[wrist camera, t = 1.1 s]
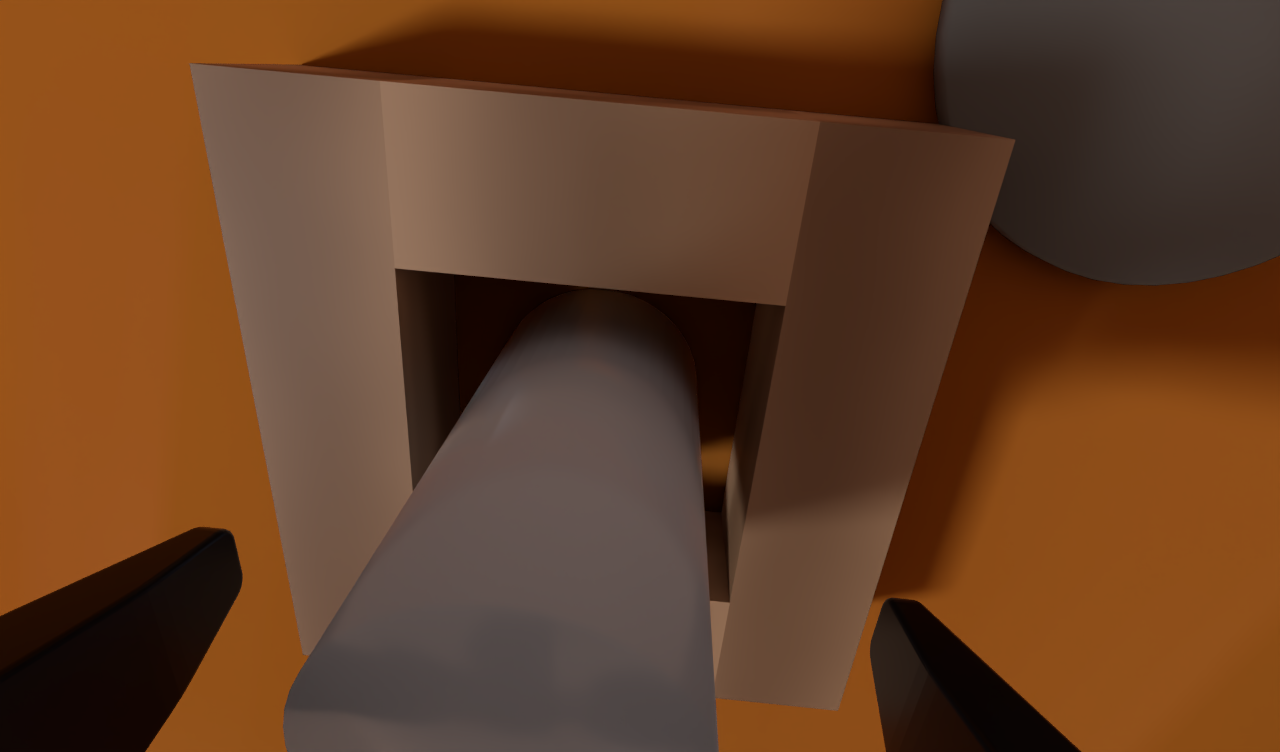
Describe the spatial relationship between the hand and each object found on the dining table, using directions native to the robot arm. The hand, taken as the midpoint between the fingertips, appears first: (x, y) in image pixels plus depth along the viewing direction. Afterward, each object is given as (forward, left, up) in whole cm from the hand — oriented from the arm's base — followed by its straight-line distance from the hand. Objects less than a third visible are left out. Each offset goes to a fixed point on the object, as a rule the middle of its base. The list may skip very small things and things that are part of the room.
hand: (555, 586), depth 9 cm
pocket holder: (0, 0, -6) cm, 6 cm away
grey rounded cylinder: (0, 0, -6) cm, 6 cm away
